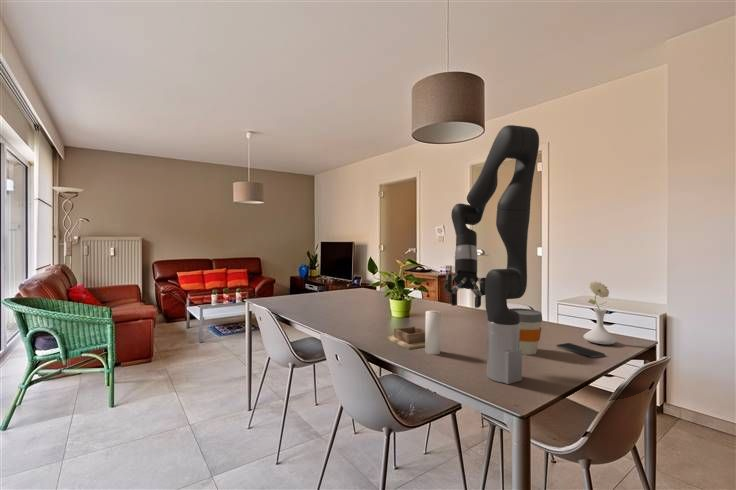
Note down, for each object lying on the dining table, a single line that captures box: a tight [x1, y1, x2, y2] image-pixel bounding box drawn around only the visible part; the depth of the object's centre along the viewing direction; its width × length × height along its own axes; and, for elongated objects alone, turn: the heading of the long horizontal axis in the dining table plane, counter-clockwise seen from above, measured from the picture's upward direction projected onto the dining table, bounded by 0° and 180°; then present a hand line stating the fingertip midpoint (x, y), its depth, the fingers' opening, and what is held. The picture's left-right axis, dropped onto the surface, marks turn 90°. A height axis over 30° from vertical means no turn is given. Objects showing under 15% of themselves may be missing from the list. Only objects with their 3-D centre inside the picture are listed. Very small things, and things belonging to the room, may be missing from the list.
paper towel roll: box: [424, 310, 442, 356], centre depth 134 cm, size 6×6×15 cm
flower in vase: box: [583, 280, 617, 345], centre depth 149 cm, size 13×11×25 cm
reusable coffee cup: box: [509, 307, 543, 356], centre depth 137 cm, size 13×13×15 cm
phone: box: [556, 342, 606, 359], centre depth 137 cm, size 8×1×15 cm
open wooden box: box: [386, 325, 425, 350], centre depth 148 cm, size 16×14×4 cm
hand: (465, 306), depth 122 cm, fingers open, 8 cm apart
